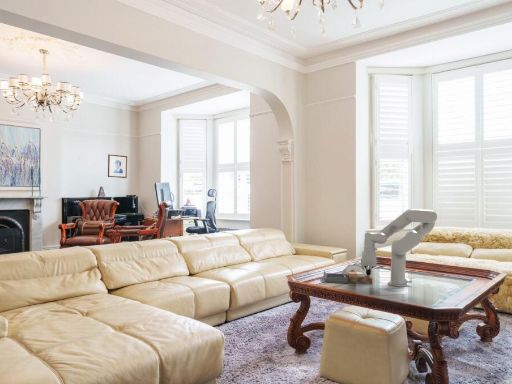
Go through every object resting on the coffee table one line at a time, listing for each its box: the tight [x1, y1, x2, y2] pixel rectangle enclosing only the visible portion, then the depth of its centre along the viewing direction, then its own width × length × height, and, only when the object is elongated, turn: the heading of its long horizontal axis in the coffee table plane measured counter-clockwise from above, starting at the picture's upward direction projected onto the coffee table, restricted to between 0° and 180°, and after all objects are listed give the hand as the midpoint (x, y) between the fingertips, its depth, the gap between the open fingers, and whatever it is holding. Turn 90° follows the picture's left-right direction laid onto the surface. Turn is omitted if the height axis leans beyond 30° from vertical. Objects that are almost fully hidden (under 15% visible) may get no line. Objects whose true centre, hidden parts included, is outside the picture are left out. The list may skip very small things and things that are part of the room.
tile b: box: [348, 271, 356, 277], centre depth 272 cm, size 4×6×2 cm
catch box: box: [323, 270, 349, 284], centre depth 272 cm, size 15×14×5 cm
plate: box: [345, 274, 373, 285], centre depth 272 cm, size 16×12×4 cm
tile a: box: [355, 272, 364, 277], centre depth 272 cm, size 4×6×2 cm
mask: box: [340, 261, 367, 277], centre depth 300 cm, size 20×9×30 cm
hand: (368, 275), depth 272 cm, fingers closed
